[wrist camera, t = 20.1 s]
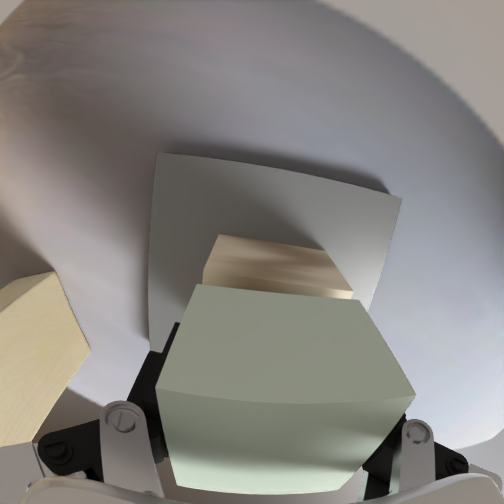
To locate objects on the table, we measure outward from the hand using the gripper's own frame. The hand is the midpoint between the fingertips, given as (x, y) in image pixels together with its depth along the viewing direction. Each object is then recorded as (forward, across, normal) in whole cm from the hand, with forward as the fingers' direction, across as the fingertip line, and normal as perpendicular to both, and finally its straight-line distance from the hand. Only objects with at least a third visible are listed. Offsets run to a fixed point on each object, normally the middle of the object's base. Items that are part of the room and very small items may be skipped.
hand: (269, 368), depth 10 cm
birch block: (+6, 0, 0) cm, 6 cm away
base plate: (+8, 0, 0) cm, 8 cm away
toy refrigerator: (+8, +18, +7) cm, 21 cm away
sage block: (+1, 0, 0) cm, 1 cm away
